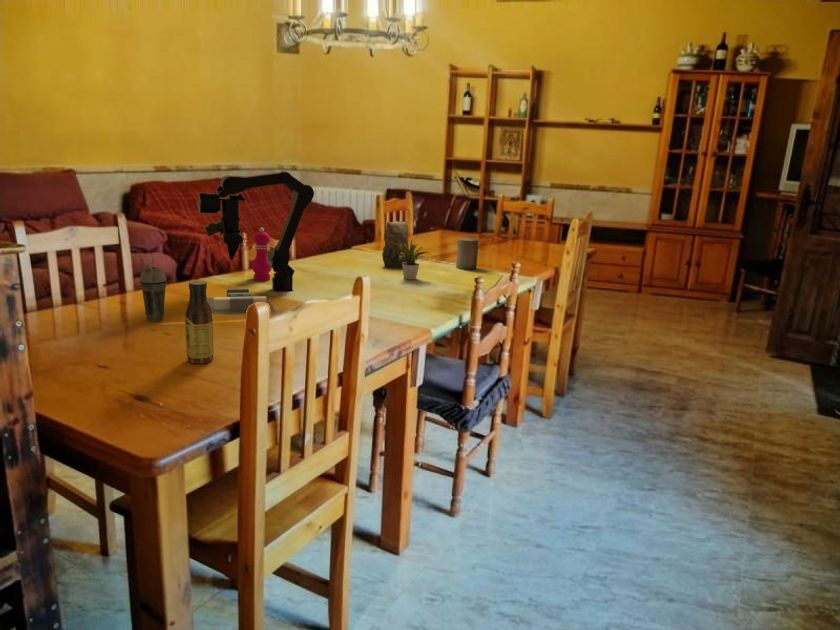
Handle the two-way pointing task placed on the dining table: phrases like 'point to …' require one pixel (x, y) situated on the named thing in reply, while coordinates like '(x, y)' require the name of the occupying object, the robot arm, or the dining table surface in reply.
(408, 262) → the house plant
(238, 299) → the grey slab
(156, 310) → the beverage cup
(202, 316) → the sauce bottle
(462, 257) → the pillar candle
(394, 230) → the rough stone block
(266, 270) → the pepper mill
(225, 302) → the light grey bar
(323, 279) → the dining table surface
